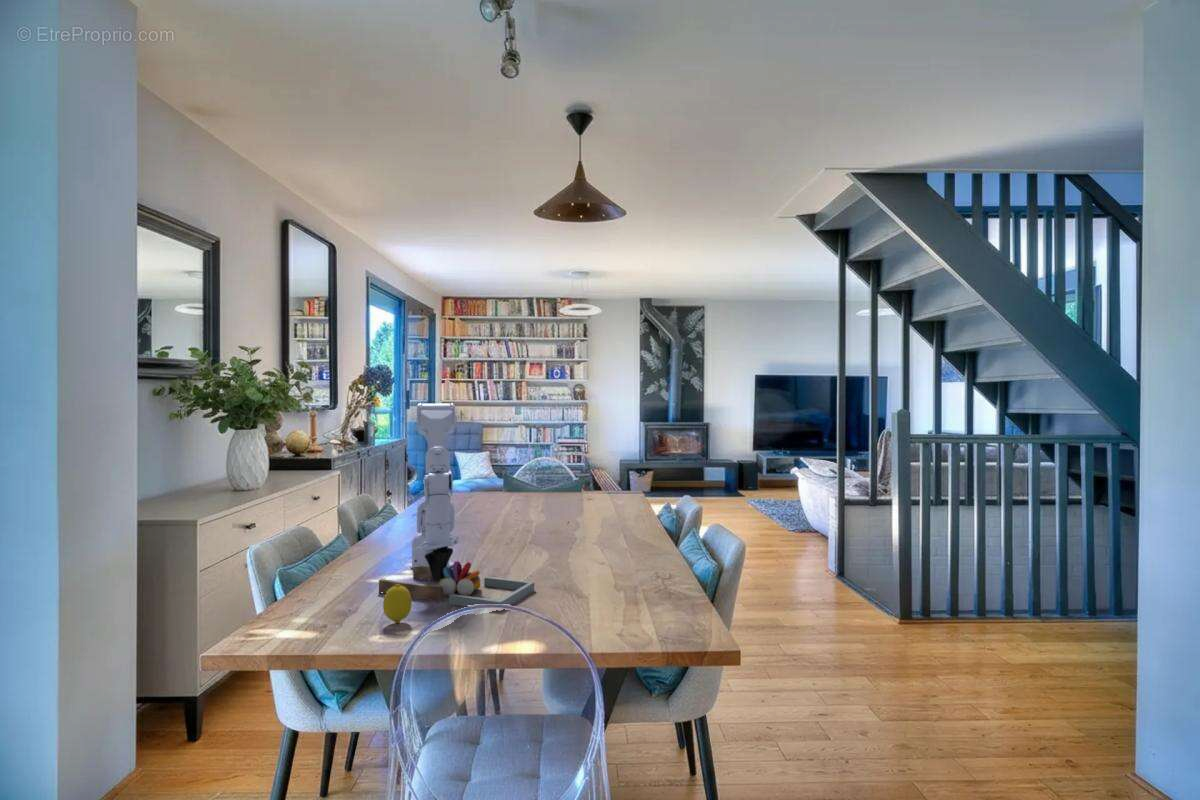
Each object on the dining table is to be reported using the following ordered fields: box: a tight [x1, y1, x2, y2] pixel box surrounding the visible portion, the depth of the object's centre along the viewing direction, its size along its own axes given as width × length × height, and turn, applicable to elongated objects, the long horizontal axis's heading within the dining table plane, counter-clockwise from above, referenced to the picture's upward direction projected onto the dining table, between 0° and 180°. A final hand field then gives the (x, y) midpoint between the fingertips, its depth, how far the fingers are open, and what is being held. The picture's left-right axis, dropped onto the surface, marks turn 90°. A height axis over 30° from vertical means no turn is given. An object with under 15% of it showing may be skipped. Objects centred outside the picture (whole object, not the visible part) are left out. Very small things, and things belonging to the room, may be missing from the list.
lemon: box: [382, 584, 413, 624], centre depth 135 cm, size 6×6×8 cm
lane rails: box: [378, 566, 471, 602], centre depth 158 cm, size 17×14×3 cm
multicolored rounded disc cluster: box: [438, 560, 481, 596], centre depth 156 cm, size 8×10×7 cm
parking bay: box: [448, 576, 535, 607], centre depth 152 cm, size 13×16×2 cm
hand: (438, 579), depth 157 cm, fingers closed
